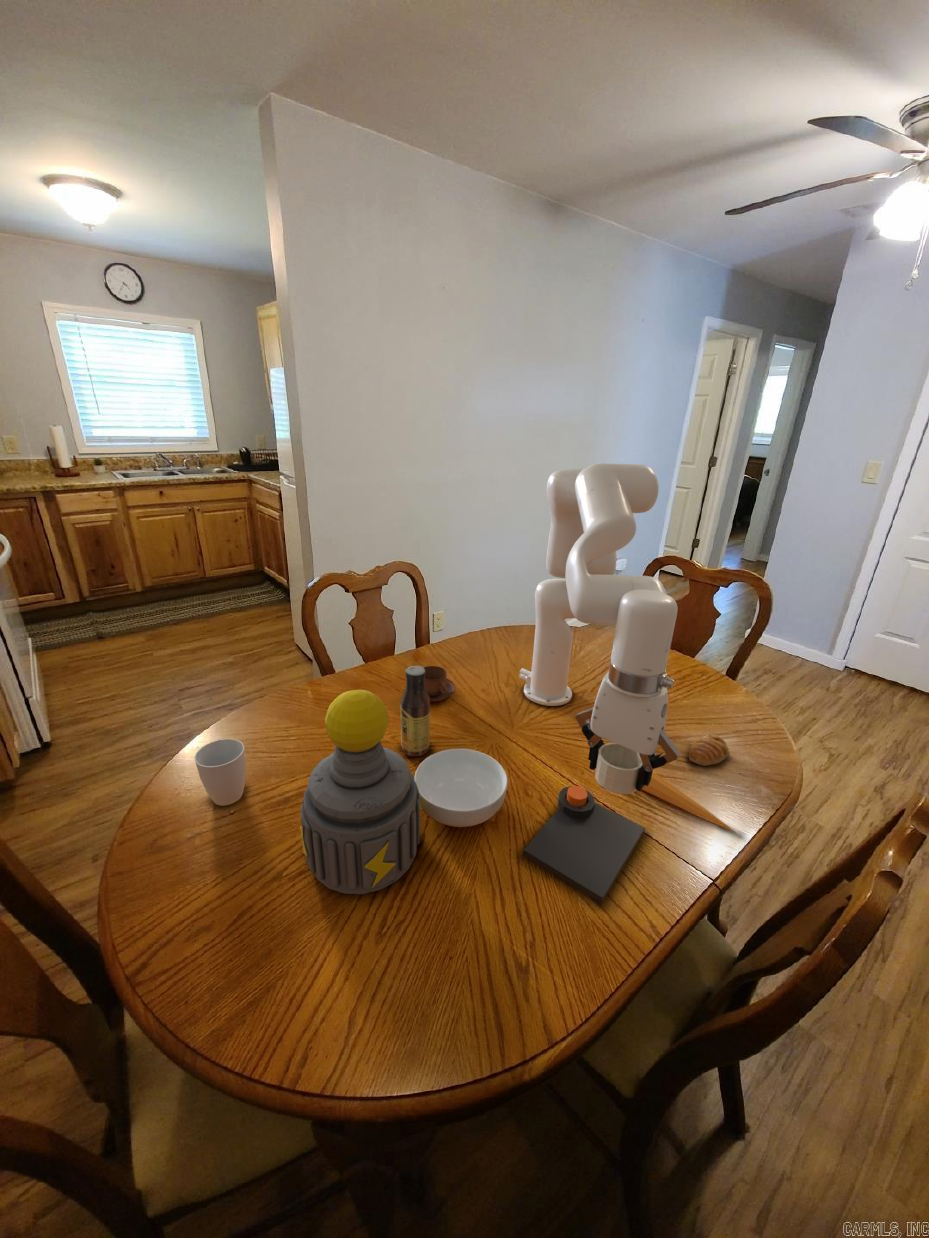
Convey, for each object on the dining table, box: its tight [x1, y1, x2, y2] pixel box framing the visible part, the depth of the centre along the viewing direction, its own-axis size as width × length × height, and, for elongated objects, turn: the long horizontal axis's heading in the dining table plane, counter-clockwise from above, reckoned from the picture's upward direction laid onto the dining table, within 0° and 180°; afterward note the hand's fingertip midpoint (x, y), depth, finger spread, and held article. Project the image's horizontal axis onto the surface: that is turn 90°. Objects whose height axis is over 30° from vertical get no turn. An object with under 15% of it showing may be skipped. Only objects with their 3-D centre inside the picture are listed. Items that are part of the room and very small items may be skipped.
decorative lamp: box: [299, 689, 423, 895], centre depth 78 cm, size 19×19×30 cm
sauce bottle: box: [399, 665, 431, 758], centre depth 105 cm, size 7×6×20 cm
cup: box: [194, 738, 247, 807], centre depth 92 cm, size 8×8×10 cm
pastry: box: [688, 734, 731, 767], centre depth 109 cm, size 9×7×4 cm
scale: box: [522, 785, 646, 905], centre depth 86 cm, size 15×18×3 cm
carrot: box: [641, 771, 737, 834], centre depth 95 cm, size 20×4×4 cm, turn 48°
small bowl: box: [594, 742, 643, 795], centre depth 78 cm, size 7×7×4 cm
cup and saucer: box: [423, 665, 456, 703], centre depth 129 cm, size 12×12×6 cm
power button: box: [566, 785, 588, 807], centre depth 92 cm, size 4×4×2 cm
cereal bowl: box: [413, 748, 509, 828], centre depth 92 cm, size 17×17×7 cm
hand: (617, 774), depth 79 cm, fingers closed on small bowl, 6 cm apart
